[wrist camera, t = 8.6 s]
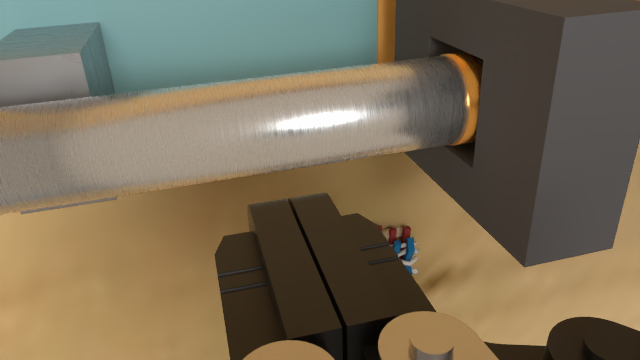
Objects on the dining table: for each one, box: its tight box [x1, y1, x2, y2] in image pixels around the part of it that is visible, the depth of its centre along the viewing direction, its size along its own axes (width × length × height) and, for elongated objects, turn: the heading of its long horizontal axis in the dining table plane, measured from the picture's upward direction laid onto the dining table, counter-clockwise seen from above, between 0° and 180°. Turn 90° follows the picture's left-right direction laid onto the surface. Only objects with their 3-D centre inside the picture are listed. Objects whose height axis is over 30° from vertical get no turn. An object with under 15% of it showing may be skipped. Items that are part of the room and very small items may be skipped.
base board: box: [0, 0, 396, 94], centre depth 24 cm, size 26×9×1 cm, turn 93°
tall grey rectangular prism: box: [395, 0, 640, 267], centre depth 18 cm, size 3×7×10 cm, turn 3°
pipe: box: [0, 22, 483, 215], centre depth 19 cm, size 22×5×9 cm, turn 93°
